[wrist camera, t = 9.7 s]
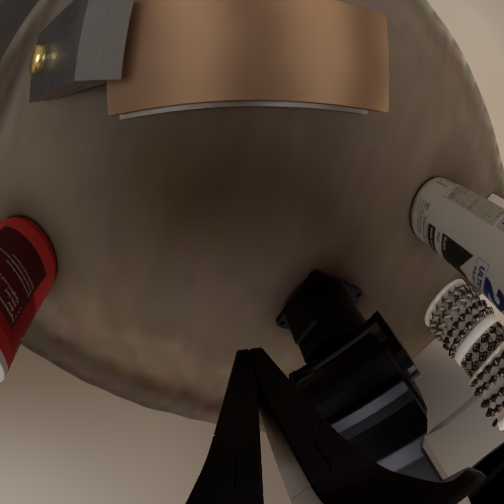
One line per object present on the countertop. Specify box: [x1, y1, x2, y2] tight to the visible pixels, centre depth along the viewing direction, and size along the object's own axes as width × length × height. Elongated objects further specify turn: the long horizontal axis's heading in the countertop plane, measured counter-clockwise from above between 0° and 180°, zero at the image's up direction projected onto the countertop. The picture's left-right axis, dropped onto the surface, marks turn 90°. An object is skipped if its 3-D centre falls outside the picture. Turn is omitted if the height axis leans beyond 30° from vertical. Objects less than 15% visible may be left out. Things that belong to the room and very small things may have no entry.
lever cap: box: [29, 0, 134, 103], centre depth 8 cm, size 8×5×3 cm
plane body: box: [107, 0, 389, 120], centre depth 12 cm, size 17×8×4 cm, turn 90°
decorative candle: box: [424, 279, 504, 431], centre depth 19 cm, size 9×9×25 cm
